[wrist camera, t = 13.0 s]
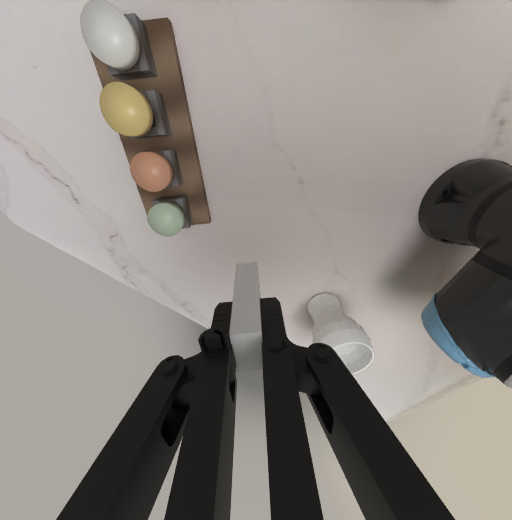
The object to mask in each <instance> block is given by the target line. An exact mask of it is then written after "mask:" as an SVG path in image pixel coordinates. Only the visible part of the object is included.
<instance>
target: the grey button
mask: <svg viewBox="0 0 512 520" xmlns="http://www.w3.org/2000/svg"><path fill="white" fill-rule="evenodd" d="M80 24H81V31H82V34H83V37H84V40H85V42H86V44H87V46H88V48H89V49H90V51H91V52H92V53H93V54H94V55H95V56H96V57H97V58H98V59H99V60H100V61H102V62H104V63H105V64H107V65H109V66H111V67H113V68H115V69H117V70H128V69H130V68H132V67H133V66H134V65H135V64H136V62H137V61H138V57H139V51H140V48H139V40H138V36H137V33H136V31H135V29H134V27H133V25H132V24H131V22H130V21H129V20H128V19H127V17H126V16H125V15H124V14H123V13H122V12H121V11H120V10H119V9H118V8H117V7H116V6H114V5H113V4H112V3H110V2H109V1H107V0H90V1H89V2H87V3H86V4H85V6H84V7H83V10H82V13H81V19H80Z"/></svg>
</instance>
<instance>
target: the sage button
mask: <svg viewBox="0 0 512 520" xmlns="http://www.w3.org/2000/svg"><path fill="white" fill-rule="evenodd" d="M147 219H148V223H149V225H150V227H151V228H152V229H153V230H154V231H155V232H156V233H158V234H160V235H162V236H173V235H175V234H177V233H178V232H179V231H180V230H181V228H182V227H183V226H184V223H185V216H184V213H183V211H182V210H181V208H180V207H179V206H178V205H176V204H174V203H172V202H168V201H163V202H159V203H158V204H156V205H154V206H153V207H152V208H151V209H150V210H149V212H148V216H147Z"/></svg>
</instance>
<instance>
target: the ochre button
mask: <svg viewBox="0 0 512 520" xmlns="http://www.w3.org/2000/svg"><path fill="white" fill-rule="evenodd" d="M100 108H101V112H102V114H103V117H104V118H105V120H106V122H107V123H108V124H109V125H110V127H111V128H113V129H114V130H115V131H116V132H118V133H120V134H122V135H125V136H142V135H145V134H146V133H147V132H148V131H149V130H150V128H151V126H152V125H155V123H154V120H153V113H152V109H151V106H150V104H149V102H148V100H147V99H146V97H145V96H144V95H143V94H142V93H141V92H140V91H139V90H137V89H135V88H133V87H131V86H129V85H127V84H125V83H122V82H111V83H109V84H107V85H106V86H105V87H104V88H103V90H102V92H101V95H100Z"/></svg>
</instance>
